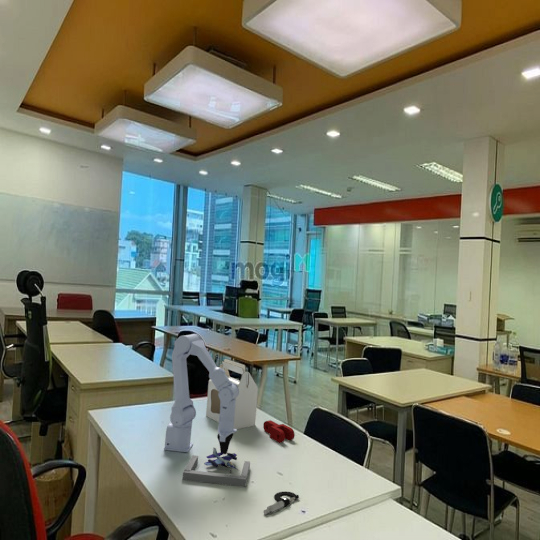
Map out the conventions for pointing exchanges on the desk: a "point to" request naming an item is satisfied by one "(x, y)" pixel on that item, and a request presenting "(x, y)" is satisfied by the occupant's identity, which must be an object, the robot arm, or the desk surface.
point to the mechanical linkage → (278, 431)
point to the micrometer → (280, 502)
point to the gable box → (244, 400)
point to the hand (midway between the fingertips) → (223, 453)
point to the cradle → (215, 475)
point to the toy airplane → (221, 459)
